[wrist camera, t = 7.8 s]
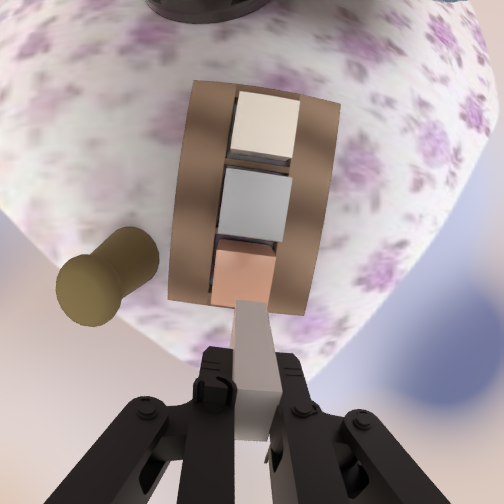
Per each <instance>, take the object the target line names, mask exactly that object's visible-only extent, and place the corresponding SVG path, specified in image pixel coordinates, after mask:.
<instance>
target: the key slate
mask: <svg viewBox="0 0 504 504" xmlns="http://www.w3.org/2000/svg"><path fill="white" fill-rule="evenodd" d="M292 179H293V178H291V177H285V176H279V175H273V174H267V173H260V172H253V171H246V170H239V169H231V168H226V175H225V182H224V189H223V196H222V204H221V211H220V219H219V227H218V233H219V234H227V235H235V236H242V237H250V238H257V239H265V240H272V241H279V242H282V240H283V235H284V229H285V223H286V216H287V210H288V204H289V198H290V191H291V185H292Z"/></svg>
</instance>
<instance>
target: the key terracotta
mask: <svg viewBox="0 0 504 504" xmlns="http://www.w3.org/2000/svg"><path fill="white" fill-rule="evenodd" d="M275 262H276V256H275V254H274V251H273V249H272V247H271V245H264V244H257V243H249V242H242V241H234V240H226V239H220V241H219V244H218V247H217V251H216V260H215V269H214V278H213V287H212V296H211V304H212V305H220V306H228V307H235V305H236V299H237V300H245V301H253V302H262V303H266V306H267V307H268V301H269V296H270V290H271V284H272V279H273V273H274V267H275Z"/></svg>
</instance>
